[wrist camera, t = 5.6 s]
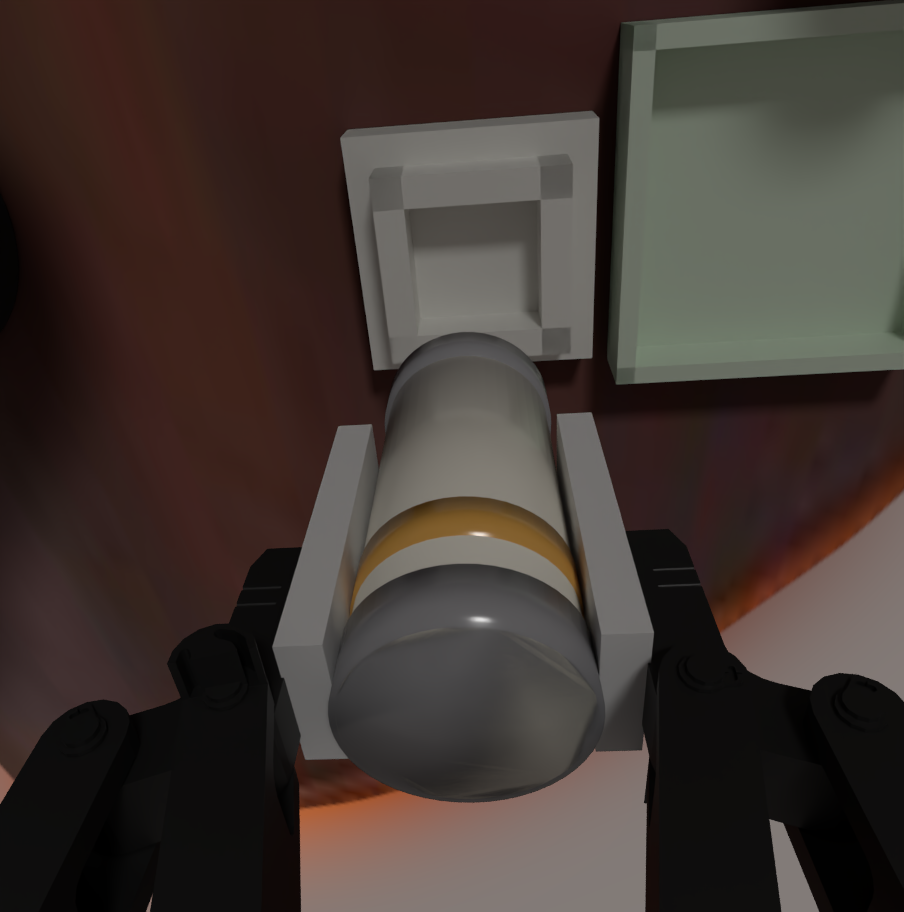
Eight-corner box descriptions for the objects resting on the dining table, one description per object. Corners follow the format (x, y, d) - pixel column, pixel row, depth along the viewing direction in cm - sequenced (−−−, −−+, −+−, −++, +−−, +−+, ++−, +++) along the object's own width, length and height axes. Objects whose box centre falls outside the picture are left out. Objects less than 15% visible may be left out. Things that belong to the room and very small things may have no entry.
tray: (606, 358, 35) (616, 384, 33) (620, 22, 28) (634, 25, 26) (907, 341, 35) (938, 367, 32) (1004, -10, 27) (1054, -10, 25)
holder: (378, 352, 36) (368, 390, 32) (347, 129, 30) (331, 147, 27) (586, 340, 35) (598, 377, 32) (592, 110, 30) (607, 126, 26)
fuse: (398, 474, 21) (350, 805, 12) (380, 337, 19) (304, 628, 10) (547, 467, 21) (600, 799, 12) (546, 326, 18) (611, 615, 10)
